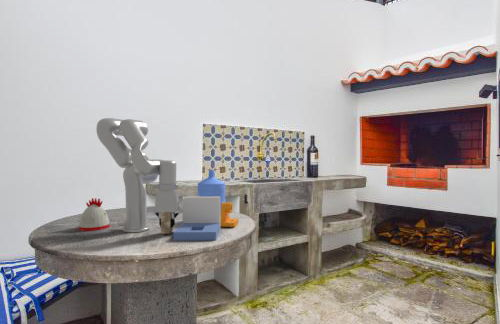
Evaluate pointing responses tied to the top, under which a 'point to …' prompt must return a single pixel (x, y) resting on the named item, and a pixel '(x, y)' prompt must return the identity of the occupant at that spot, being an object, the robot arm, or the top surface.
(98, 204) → the cream red beanie hat
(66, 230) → the top surface
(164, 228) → the tan wooden pillar
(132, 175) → the robot arm
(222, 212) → the bracket
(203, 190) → the water jug
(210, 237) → the blue base grey panel
